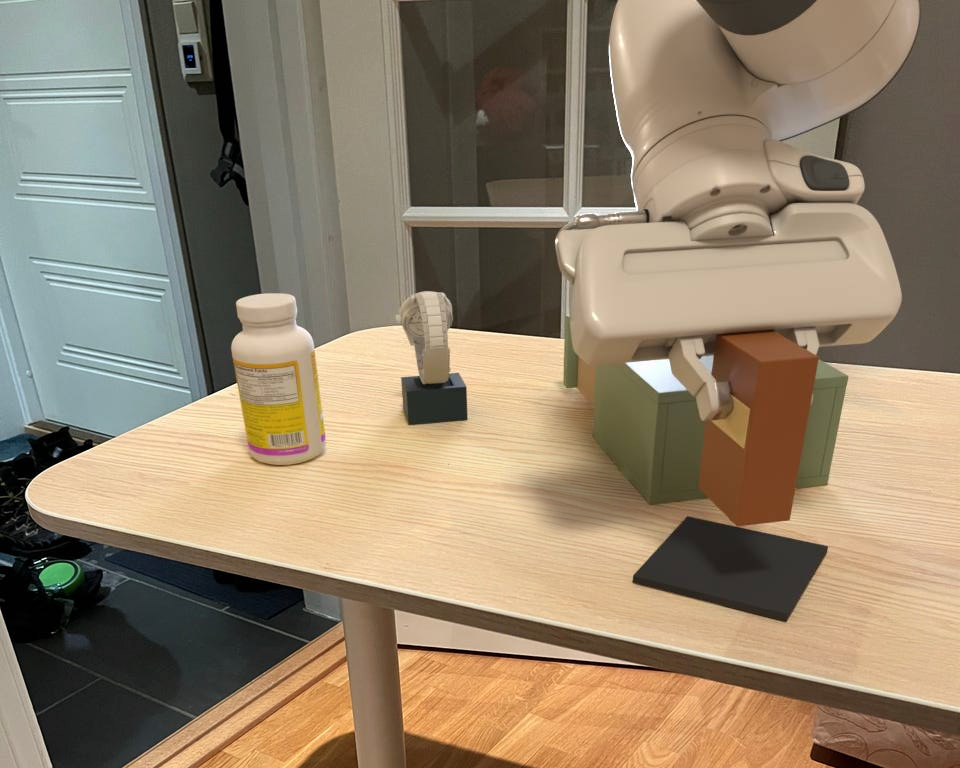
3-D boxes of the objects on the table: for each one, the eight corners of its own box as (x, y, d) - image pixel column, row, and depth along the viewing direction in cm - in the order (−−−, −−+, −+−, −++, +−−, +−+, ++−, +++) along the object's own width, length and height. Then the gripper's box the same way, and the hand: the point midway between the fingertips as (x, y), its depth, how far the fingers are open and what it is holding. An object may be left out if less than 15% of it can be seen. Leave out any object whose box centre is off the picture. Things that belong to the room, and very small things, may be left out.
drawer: (551, 372, 95) (553, 303, 92) (676, 361, 97) (682, 293, 94) (605, 432, 81) (609, 353, 77) (749, 418, 83) (760, 341, 79)
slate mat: (827, 553, 63) (828, 545, 63) (786, 622, 56) (788, 613, 56) (686, 523, 68) (687, 515, 68) (632, 583, 61) (632, 575, 60)
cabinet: (592, 436, 83) (596, 338, 78) (746, 421, 85) (760, 325, 80) (649, 504, 71) (658, 393, 66) (827, 485, 73) (849, 375, 68)
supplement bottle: (288, 433, 85) (267, 286, 78) (342, 448, 82) (326, 295, 75) (233, 457, 80) (205, 303, 73) (288, 473, 77) (264, 314, 70)
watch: (456, 398, 92) (452, 281, 86) (470, 426, 85) (467, 301, 79) (400, 402, 91) (391, 285, 85) (410, 431, 85) (401, 306, 79)
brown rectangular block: (696, 487, 61) (714, 332, 56) (748, 481, 62) (771, 328, 56) (735, 527, 56) (759, 361, 51) (791, 520, 57) (820, 356, 51)
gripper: (560, 181, 54) (603, 402, 51) (885, 165, 57) (942, 373, 54) (540, 249, 60) (577, 450, 57) (834, 231, 63) (883, 421, 60)
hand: (757, 412), depth 56 cm, fingers closed on brown rectangular block, 4 cm apart
